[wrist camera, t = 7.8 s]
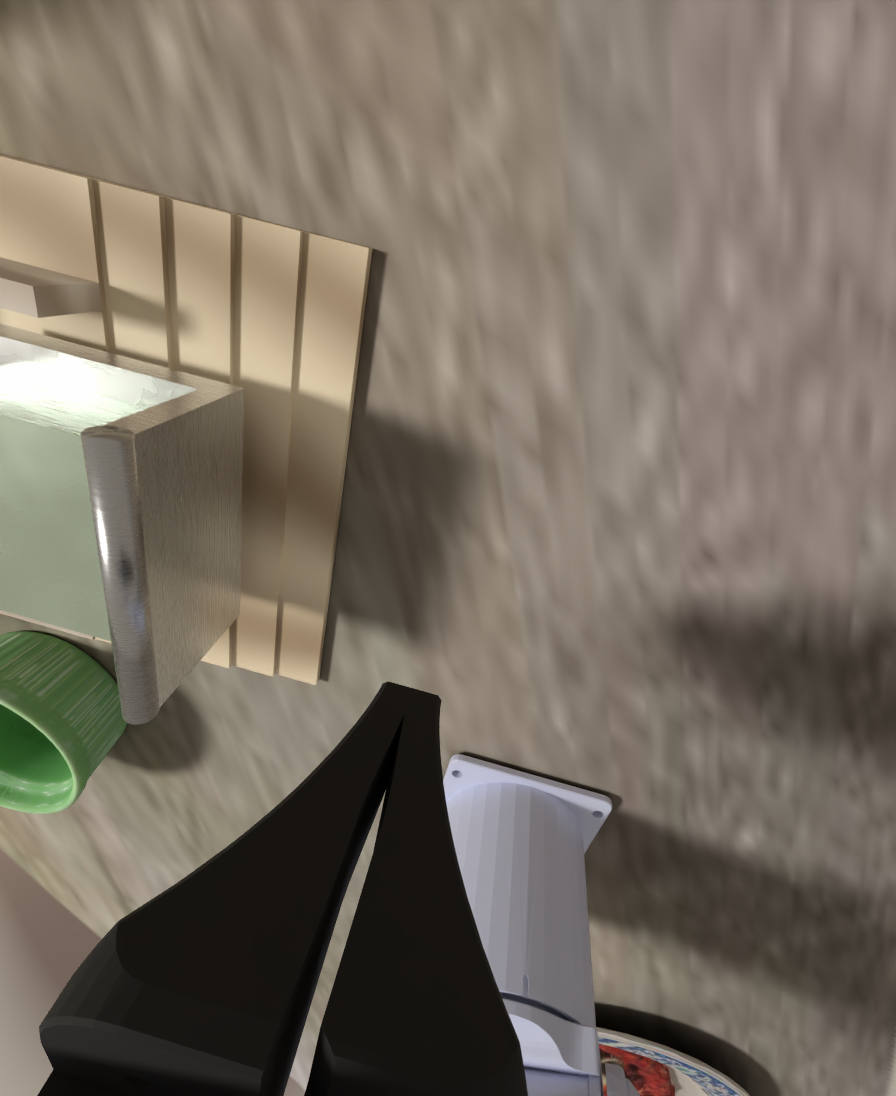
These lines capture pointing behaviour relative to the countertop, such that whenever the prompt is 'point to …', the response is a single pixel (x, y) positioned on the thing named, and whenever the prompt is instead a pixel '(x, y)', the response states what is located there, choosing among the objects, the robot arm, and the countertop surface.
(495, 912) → the robot arm
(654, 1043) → the ceramic plate
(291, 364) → the dock
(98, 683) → the ramekin
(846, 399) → the countertop surface
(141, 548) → the green and grey box
